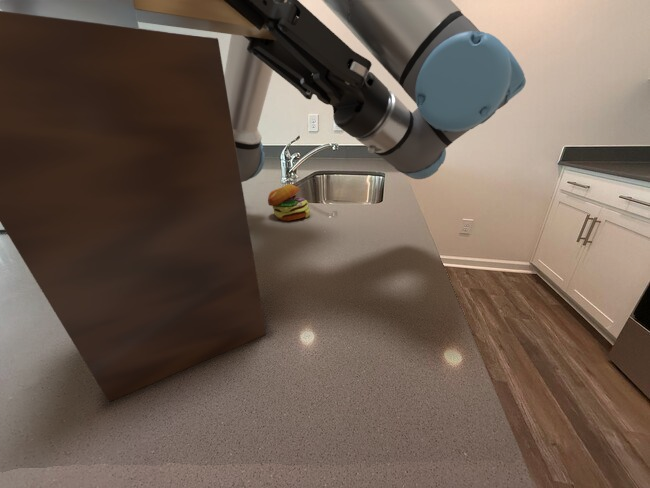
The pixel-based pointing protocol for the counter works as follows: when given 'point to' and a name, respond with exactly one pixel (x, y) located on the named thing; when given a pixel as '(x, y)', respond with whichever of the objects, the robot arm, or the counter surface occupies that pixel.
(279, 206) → the cheeseburger
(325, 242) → the counter surface
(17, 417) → the counter surface
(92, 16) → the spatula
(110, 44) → the stand
